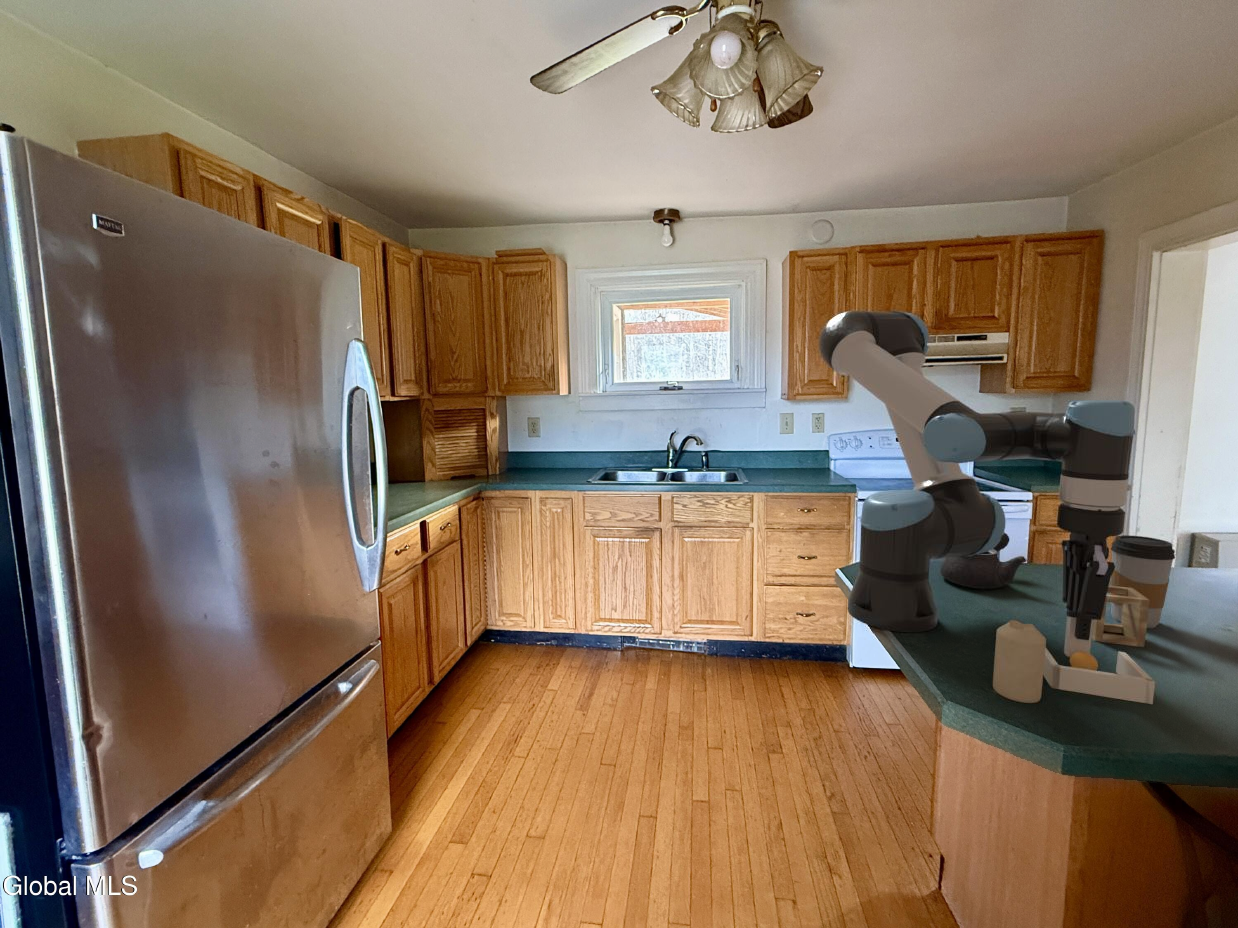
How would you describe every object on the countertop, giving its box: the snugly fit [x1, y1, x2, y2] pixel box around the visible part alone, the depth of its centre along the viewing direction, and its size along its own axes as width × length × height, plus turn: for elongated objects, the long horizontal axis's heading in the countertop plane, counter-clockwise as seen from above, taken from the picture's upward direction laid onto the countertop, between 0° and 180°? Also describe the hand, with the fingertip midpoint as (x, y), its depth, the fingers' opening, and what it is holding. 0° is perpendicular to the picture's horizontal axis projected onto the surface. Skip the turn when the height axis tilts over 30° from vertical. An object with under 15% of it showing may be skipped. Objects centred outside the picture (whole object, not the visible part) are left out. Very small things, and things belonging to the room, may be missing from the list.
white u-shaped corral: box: [1043, 647, 1156, 705], centre depth 79 cm, size 11×9×3 cm
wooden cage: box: [1091, 585, 1150, 648], centre depth 93 cm, size 6×6×8 cm
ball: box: [1069, 652, 1099, 671], centre depth 81 cm, size 3×3×3 cm
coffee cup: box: [1110, 534, 1176, 629], centre depth 98 cm, size 8×8×15 cm
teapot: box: [940, 532, 1027, 590], centre depth 121 cm, size 19×15×10 cm
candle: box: [992, 619, 1047, 704], centre depth 76 cm, size 6×6×10 cm
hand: (1076, 655), depth 84 cm, fingers closed
